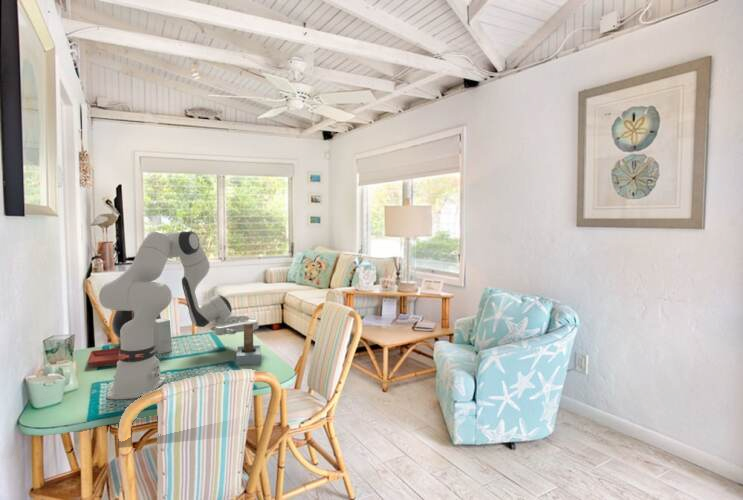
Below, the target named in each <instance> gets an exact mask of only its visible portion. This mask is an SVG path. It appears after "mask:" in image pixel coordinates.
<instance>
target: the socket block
mask: <svg viewBox="0 0 743 500" xmlns="http://www.w3.org/2000/svg"><path fill="white" fill-rule="evenodd" d="M235 364H236V365H235V366H242V365H244V366H245V365H258V364H261V345H253V352H249V353H244V345H243V346H242V345H241V346H237V350H236V356H235Z"/></svg>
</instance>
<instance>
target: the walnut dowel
mask: <svg viewBox="0 0 743 500" xmlns="http://www.w3.org/2000/svg"><path fill="white" fill-rule="evenodd" d="M243 346H244V353H249V352H253V346H254V331H253V323H245V324H244V331H243Z"/></svg>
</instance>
